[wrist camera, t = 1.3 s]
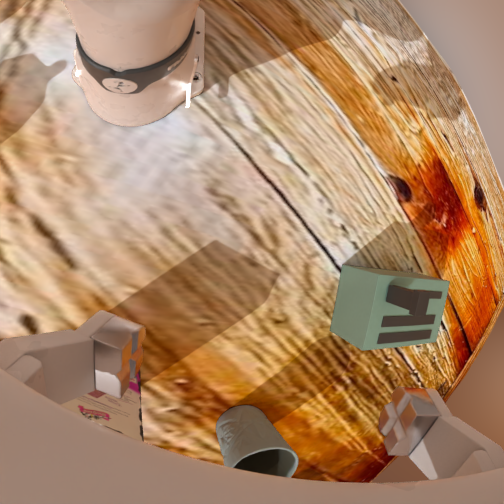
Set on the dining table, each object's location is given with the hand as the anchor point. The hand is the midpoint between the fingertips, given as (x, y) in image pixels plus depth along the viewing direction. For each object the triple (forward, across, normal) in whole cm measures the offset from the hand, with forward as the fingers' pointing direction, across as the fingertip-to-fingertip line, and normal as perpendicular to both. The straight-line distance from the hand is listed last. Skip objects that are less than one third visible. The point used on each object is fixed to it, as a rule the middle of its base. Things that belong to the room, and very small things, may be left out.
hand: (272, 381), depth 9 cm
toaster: (+42, -21, +10) cm, 48 cm away
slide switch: (+32, -18, +5) cm, 37 cm away
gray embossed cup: (+30, -3, +33) cm, 45 cm away
